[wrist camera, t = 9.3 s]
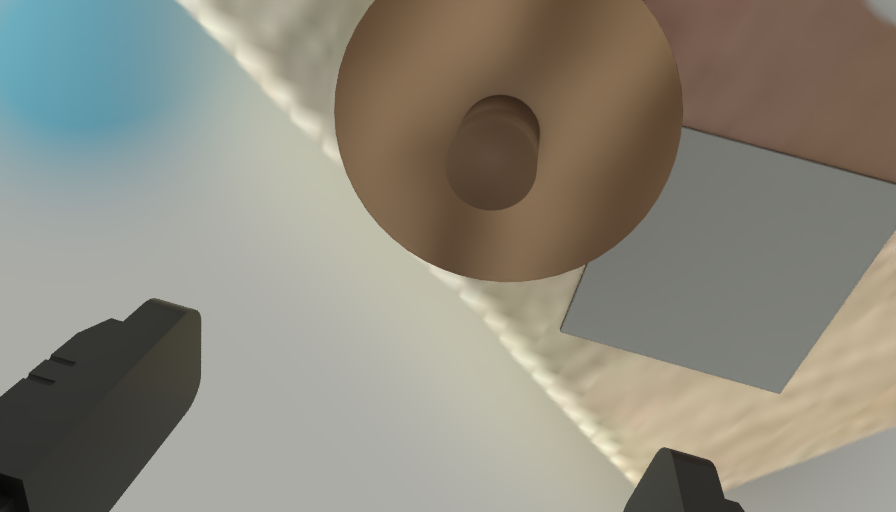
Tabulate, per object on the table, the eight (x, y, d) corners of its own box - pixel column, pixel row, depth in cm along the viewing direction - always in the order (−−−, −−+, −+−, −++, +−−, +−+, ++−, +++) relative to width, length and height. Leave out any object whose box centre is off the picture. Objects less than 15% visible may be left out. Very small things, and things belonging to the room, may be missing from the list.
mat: (917, 189, 32) (921, 192, 31) (777, 389, 39) (779, 394, 39) (646, 116, 32) (647, 118, 32) (560, 328, 40) (560, 331, 39)
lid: (744, -7, 21) (790, 8, 17) (605, 306, 28) (613, 372, 24) (366, -105, 21) (319, -114, 17) (323, 228, 28) (283, 279, 24)
